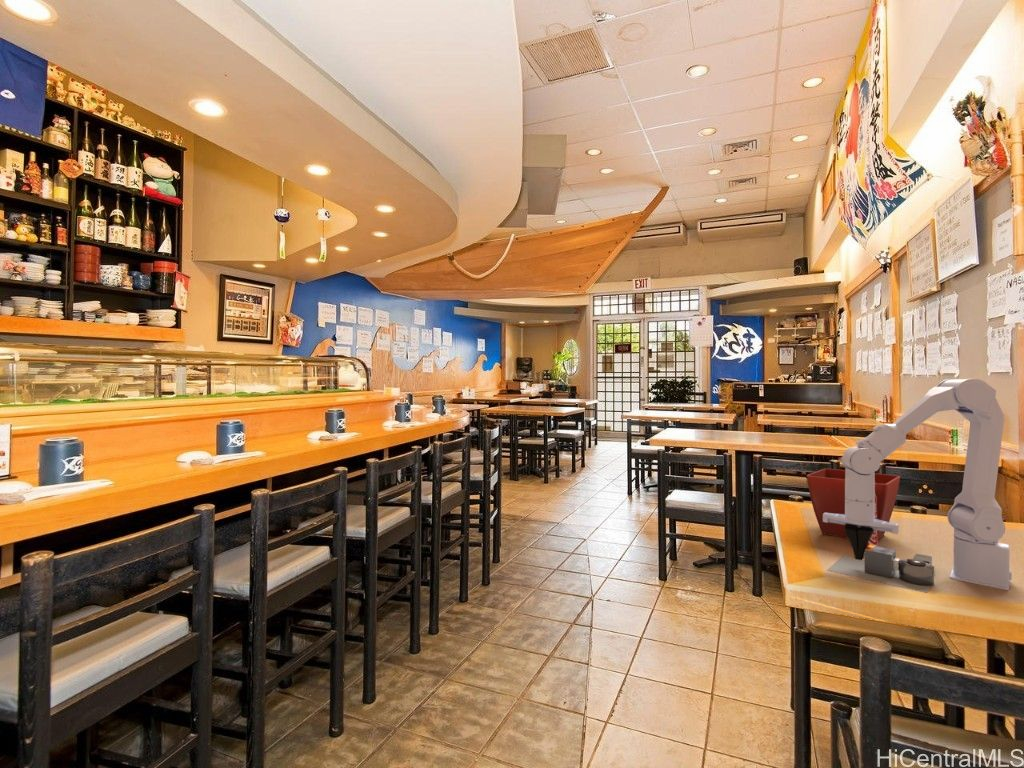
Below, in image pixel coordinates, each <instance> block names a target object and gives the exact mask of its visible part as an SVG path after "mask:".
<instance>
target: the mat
mask: <svg viewBox="0 0 1024 768" xmlns="http://www.w3.org/2000/svg"><path fill="white" fill-rule="evenodd" d="M826 571H828V572H833V573H836V574H841V575H845V576H850V577H855V578H859V579H864V580H868V581H872V582H877V583H881V584H886V585H890V586H895V587H900V588H904V589H908V590H912V591H913V590H914V591H917V592H923V593H926V594H927V593H928V591H929V589H930V587H931V586H920V585H914V584H910V583H907V582H904V581H902V580H901V579H899V571H896V572H895V574H894V575H893V577H892V578H889V577H885V576H880V575H876V574H871V573H866V572H865V559H862V560H858V559H855V557H850V556H844V555H841V556H840V557H839V558H838V559H837V560H836V561H834V562H833V564H832V565H831V566H829V568H827V569H826ZM935 575H936V574H935V573H934V577H935Z"/></svg>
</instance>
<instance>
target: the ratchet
mask: <svg viewBox="0 0 1024 768" xmlns="http://www.w3.org/2000/svg"><path fill="white" fill-rule="evenodd" d="M893 570H896V571H899V579H901V580H902V581H904V582H907V583H910V584H914V585H920V586H930V587H932V586H934V585H935V576H934V574H935V566H934V565H933V556H931V555H925V554H920V553H915V554H914V556H913V557H912V558H905V559H901V558H899V557H896V558H894V557H893Z"/></svg>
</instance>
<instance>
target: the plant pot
mask: <svg viewBox="0 0 1024 768" xmlns="http://www.w3.org/2000/svg"><path fill="white" fill-rule="evenodd" d="M806 479H807V486H808V492H809V497H810V501H811V504H812V509H813V512H814V515H815V518H816V521H817V525H818V526H819V529H820V531H821V533H822V534H824V535H828V536H834V537H839V538H845V539H849V538H848V536H847V534H846V533H845V530H844V528H845V525H843V524H837V523H831V522H823V514H824V513H825V512H826V513H833V514H844V515H845V469H837V468H836V469H833V468H823V469H820V470H818V471H815V472H812V473H808V474H806ZM900 479H901V476H900V475H895V474H885V473H884V474H883V473H875V495H876V497H877V520H882V521H886V522H890V520H891V517H892V514H893V511H894V508H895V505H896V502H897V501H896V500H897V497H898V491H899V486H900V481H901V480H900ZM885 533H886V532H885V531H879V530H878V540H880V539H881V538H882V537H883V536H884V535H885Z"/></svg>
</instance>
